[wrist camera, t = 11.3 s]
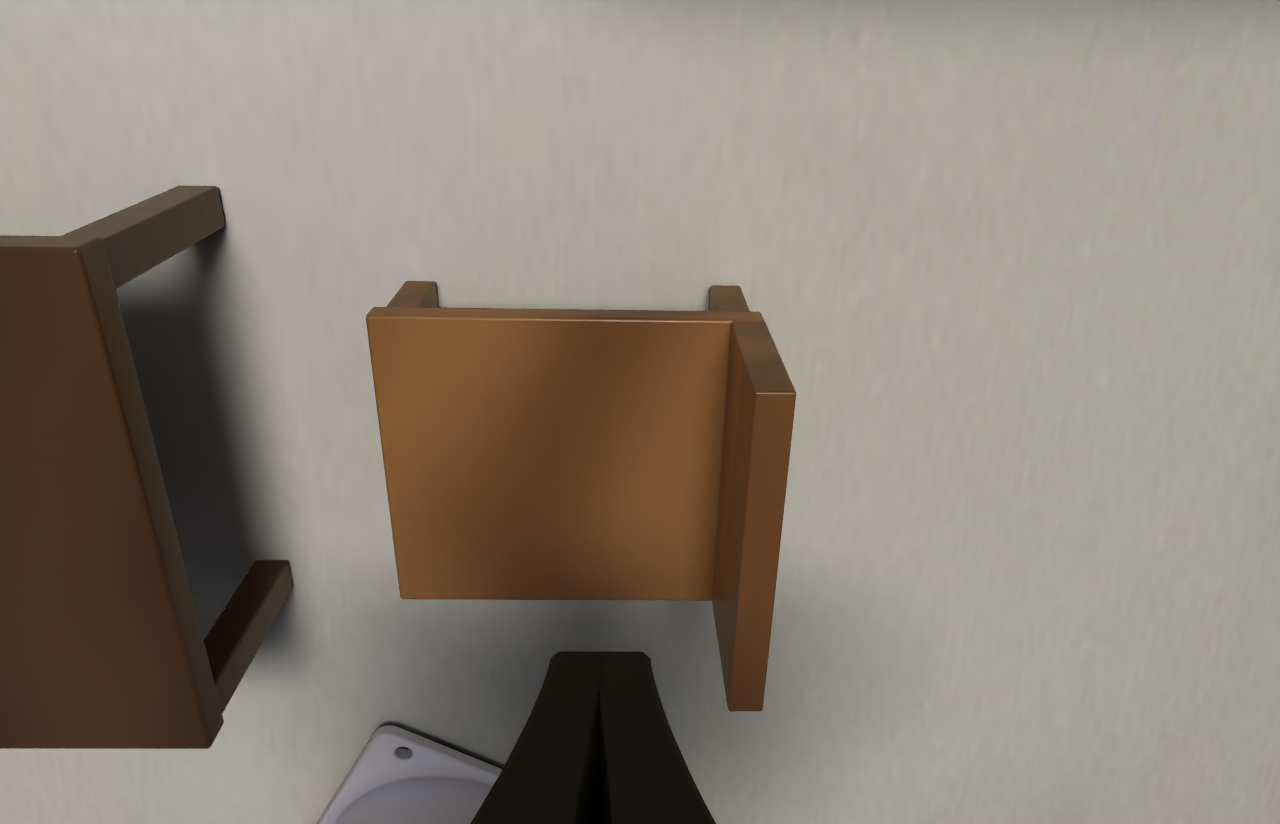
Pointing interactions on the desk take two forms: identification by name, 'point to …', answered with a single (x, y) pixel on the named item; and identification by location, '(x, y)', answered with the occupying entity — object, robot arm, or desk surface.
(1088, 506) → the desk surface
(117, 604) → the dining table
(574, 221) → the desk surface
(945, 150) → the desk surface
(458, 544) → the oak chair
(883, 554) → the desk surface
